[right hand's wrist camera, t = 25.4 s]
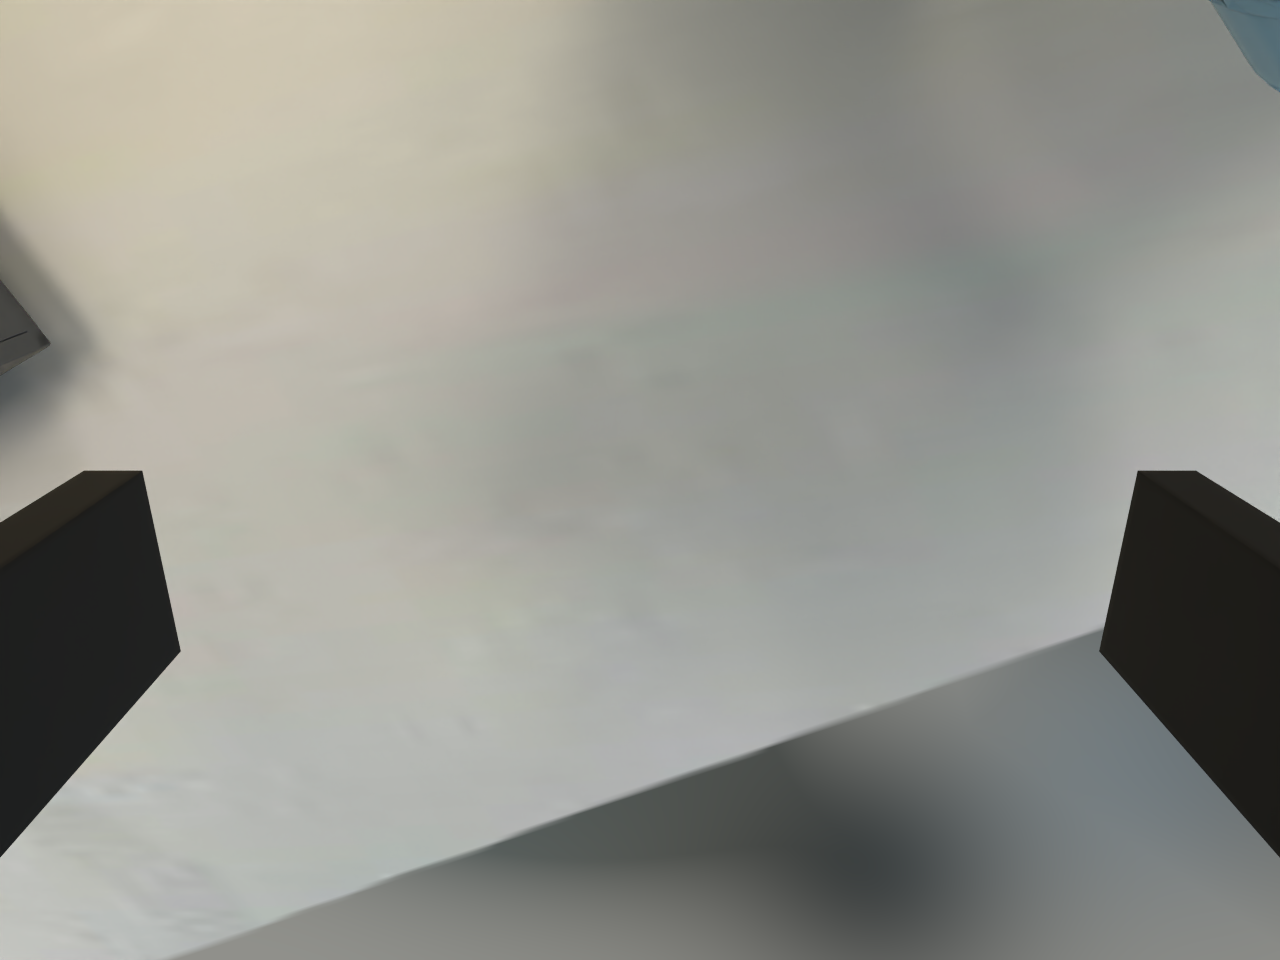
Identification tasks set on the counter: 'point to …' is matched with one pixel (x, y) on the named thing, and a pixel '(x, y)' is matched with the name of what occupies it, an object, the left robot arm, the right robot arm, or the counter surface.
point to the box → (17, 333)
